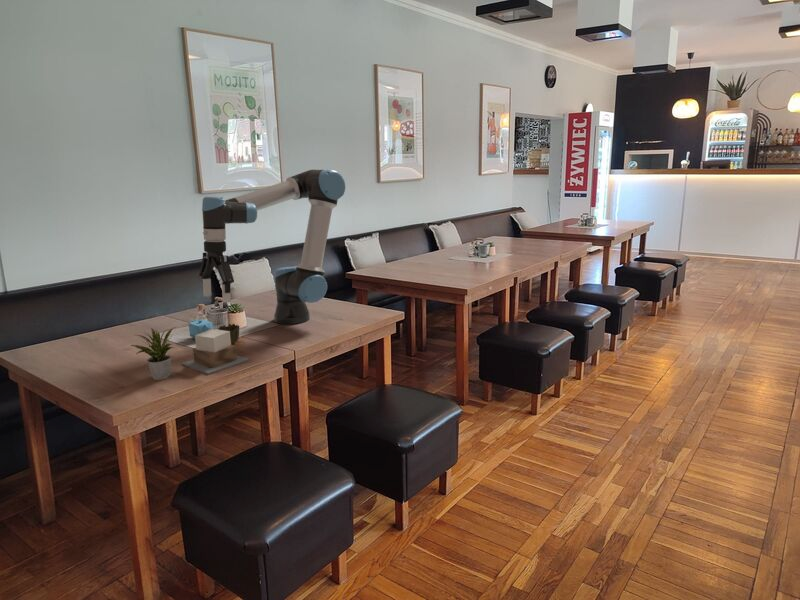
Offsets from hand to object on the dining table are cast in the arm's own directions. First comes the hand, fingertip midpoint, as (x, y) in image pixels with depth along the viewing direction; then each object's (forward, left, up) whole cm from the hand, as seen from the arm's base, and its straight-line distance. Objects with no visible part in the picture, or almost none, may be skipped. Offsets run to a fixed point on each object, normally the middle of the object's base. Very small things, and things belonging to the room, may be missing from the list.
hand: (216, 299), depth 205 cm
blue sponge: (-2, -17, -19) cm, 26 cm away
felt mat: (+11, +13, -19) cm, 25 cm away
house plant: (+28, +9, -19) cm, 35 cm away
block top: (+11, +13, -13) cm, 21 cm away
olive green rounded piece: (-2, +3, -19) cm, 19 cm away
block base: (+11, +13, -18) cm, 25 cm away
